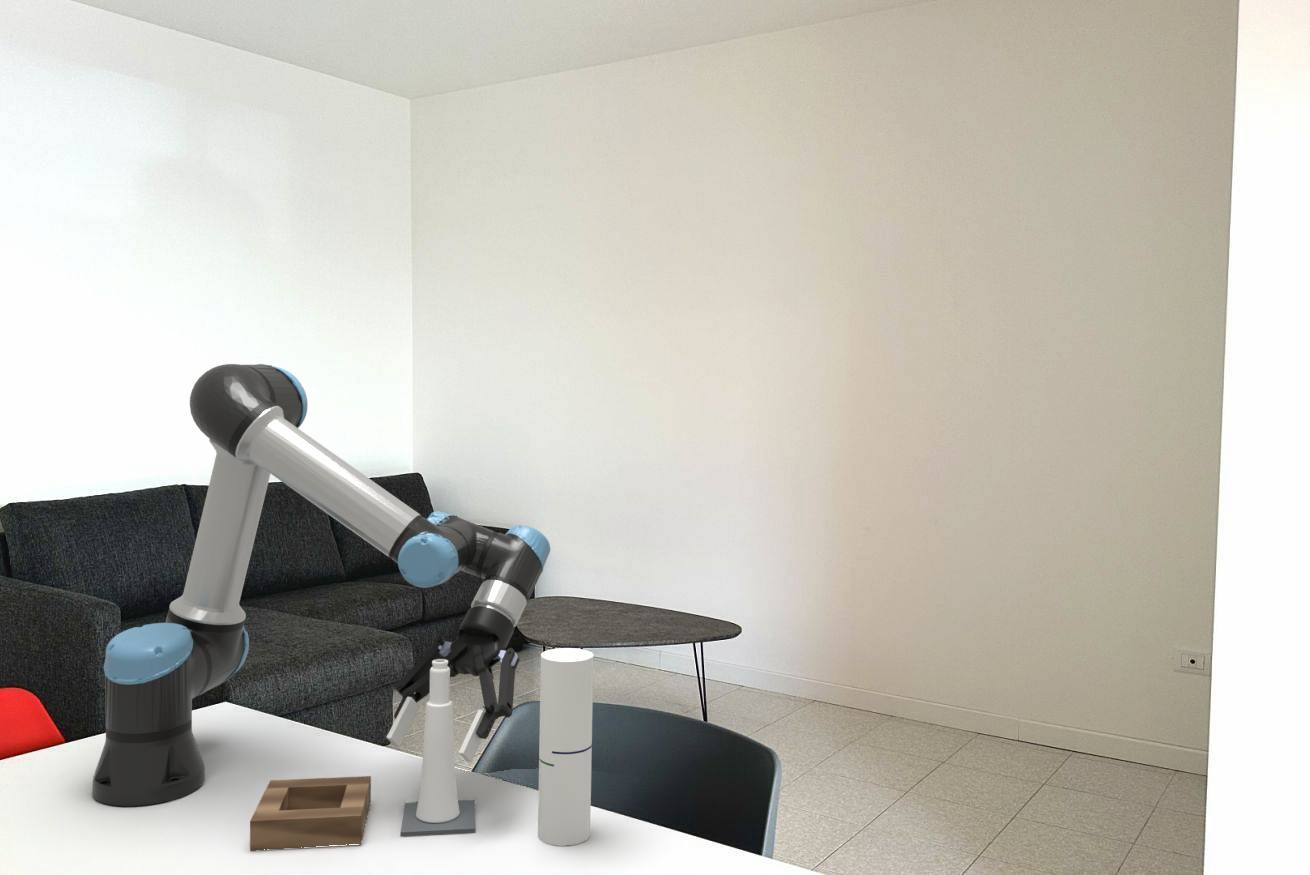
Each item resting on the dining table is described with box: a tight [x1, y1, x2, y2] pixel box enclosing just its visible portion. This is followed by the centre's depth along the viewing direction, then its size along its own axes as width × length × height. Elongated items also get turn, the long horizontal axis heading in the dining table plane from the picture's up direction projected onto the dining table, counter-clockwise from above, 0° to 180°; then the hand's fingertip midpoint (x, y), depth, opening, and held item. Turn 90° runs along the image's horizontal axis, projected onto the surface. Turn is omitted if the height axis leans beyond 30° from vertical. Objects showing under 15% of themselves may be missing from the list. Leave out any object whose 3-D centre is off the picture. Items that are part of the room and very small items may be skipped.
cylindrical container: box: [537, 647, 594, 847], centre depth 144 cm, size 7×7×25 cm
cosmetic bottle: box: [416, 659, 460, 823], centre depth 148 cm, size 6×6×22 cm
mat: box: [399, 799, 476, 837], centre depth 149 cm, size 10×10×1 cm
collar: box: [249, 775, 372, 852], centre depth 146 cm, size 14×14×4 cm
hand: (428, 750), depth 146 cm, fingers open, 11 cm apart
